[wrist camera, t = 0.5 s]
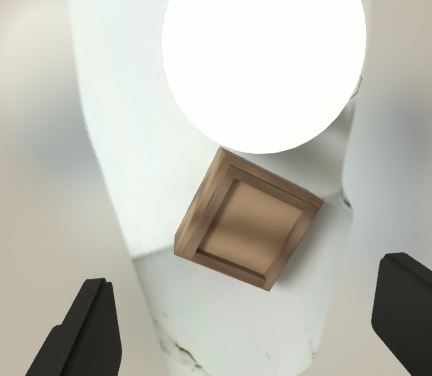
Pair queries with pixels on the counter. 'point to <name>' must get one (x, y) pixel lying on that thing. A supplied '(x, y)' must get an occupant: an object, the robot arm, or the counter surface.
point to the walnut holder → (245, 221)
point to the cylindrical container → (263, 67)
